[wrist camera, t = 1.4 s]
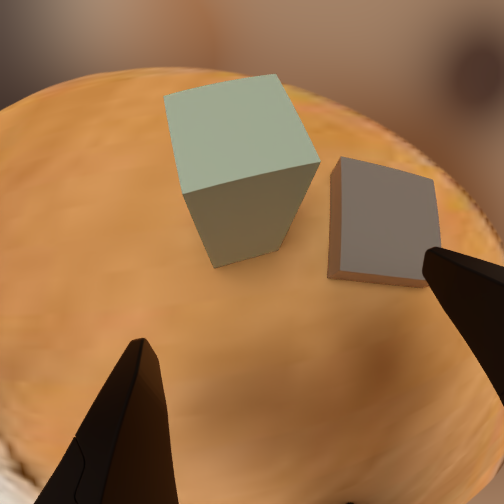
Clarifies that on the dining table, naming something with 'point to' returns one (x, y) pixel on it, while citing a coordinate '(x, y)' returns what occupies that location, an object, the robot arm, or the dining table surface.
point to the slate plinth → (380, 224)
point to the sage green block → (240, 164)
